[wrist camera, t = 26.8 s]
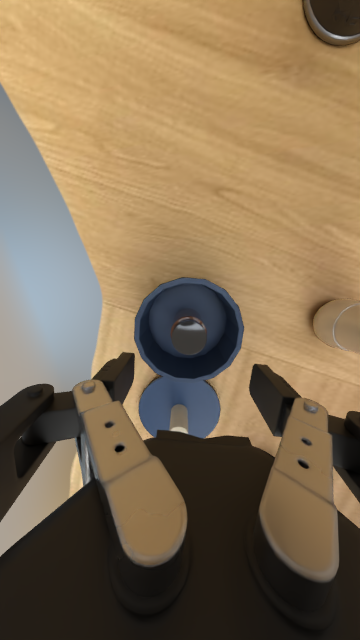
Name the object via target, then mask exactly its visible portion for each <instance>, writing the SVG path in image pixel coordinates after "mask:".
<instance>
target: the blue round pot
mask: <svg viewBox="0 0 360 640" xmlns="http://www.w3.org/2000/svg"><path fill="white" fill-rule="evenodd" d="M185 308H191V309H194V310H196V311H197V312H198V313H199V314H200V316H201V318H202V320H203V322H204V324H205V327H206V330H207V341H206V344H205V346H204V348H203V349H202V350H201V351H200V352H198V353H196V354H193V355H185V354H182V353H180V352H178V351H177V350H176V349H175V348H174V346H173V344H172V340H171V335H170V332H171V327H172V323H173V319H174V316H175V315H176V313H177V312H178V311H180V310H181V309H185ZM243 332H244V325H243V321H242V317H241V313H240V310H239V307H238V305H237V304H236V303H235V302H234V300H233V299H232V298H231V296H230V295H229V294H228V293H227V291H226V290H225V289H223V288H221V287H219V286H217V285H215V284H213V283H211V282H210V281H208V280H206V279H197V278H185V277H183V278H179V279H176V280H173V281H170V282H167V283H163V284H161V285H159V286H158V287H157V288H156V289H155V290H154V291H153V292H152V293H150V294H149V295H148V296H147V297H146V298H145V299H144V300H143V302H142V304H141V307H140V309H139V311H138V313H137V315H136V317H135V331H134V340H135V342H136V345H137V348H138V350H139V353H140V355H141V358H142V359H143V360H144V361H145V362H146V363H147V364H148V365H149V367H150V368H151V369H152V370H153V371H154V372H155V373H157V374H159V375H161V376H163V377H165V378H167V379H169V380H171V381H174V382H185V383H197V382H200V381H204V380H207V379H211V378H214V377H215V376H217V375H218V374H219V373H221V372H222V371H223V370H225V369H226V368H228V367H229V366H230V365H231V363H232V362H233V360H234V358H235V357H236V355H237V354H238V352H239V350H240V349H241V344H242V338H243Z"/></svg>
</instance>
